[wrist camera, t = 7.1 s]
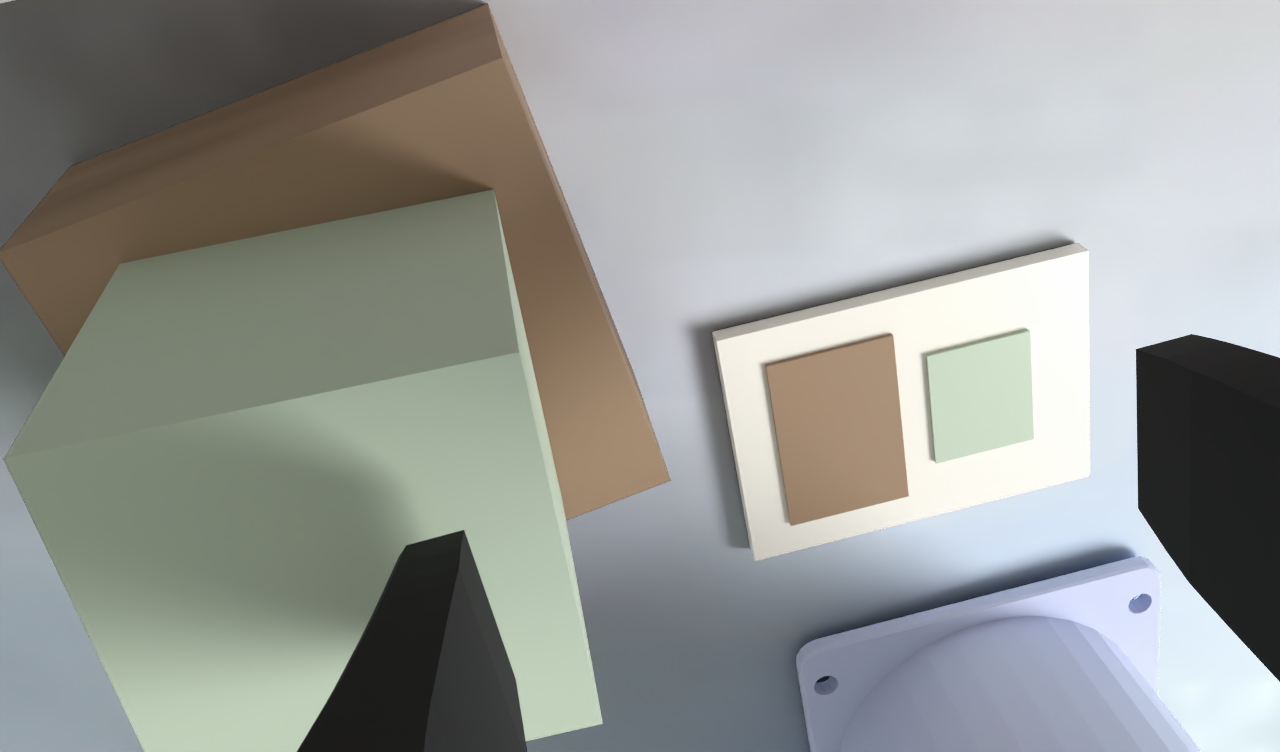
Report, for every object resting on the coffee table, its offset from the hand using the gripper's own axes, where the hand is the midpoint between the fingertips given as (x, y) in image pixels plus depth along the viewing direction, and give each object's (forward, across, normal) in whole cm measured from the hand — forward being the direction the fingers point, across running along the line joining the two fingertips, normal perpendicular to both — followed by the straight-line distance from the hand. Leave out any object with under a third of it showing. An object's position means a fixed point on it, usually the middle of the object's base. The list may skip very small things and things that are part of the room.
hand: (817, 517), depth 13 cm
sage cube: (+6, +5, 0) cm, 8 cm away
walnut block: (+10, +5, 0) cm, 11 cm away
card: (+9, -4, +5) cm, 11 cm away
